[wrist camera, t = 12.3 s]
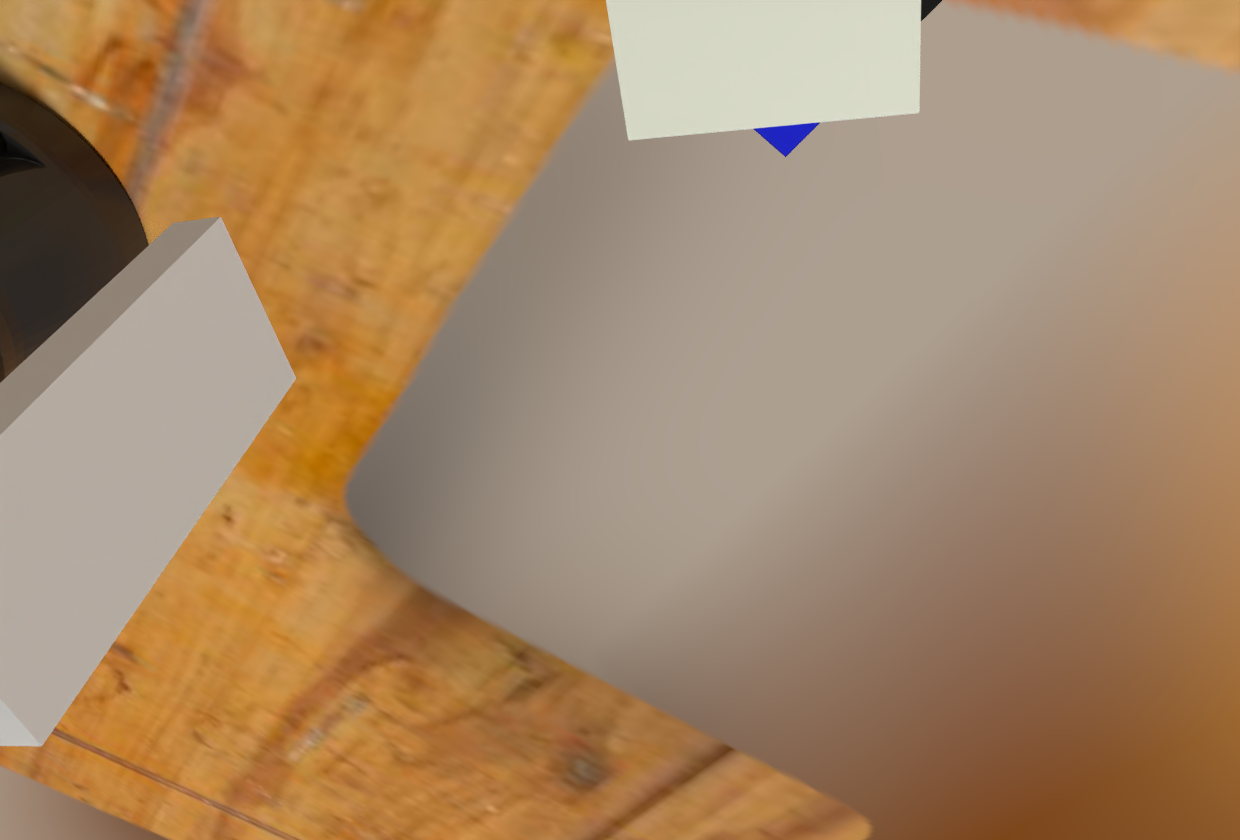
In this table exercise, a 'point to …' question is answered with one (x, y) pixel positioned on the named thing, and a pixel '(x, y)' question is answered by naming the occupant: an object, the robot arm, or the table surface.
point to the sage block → (762, 62)
